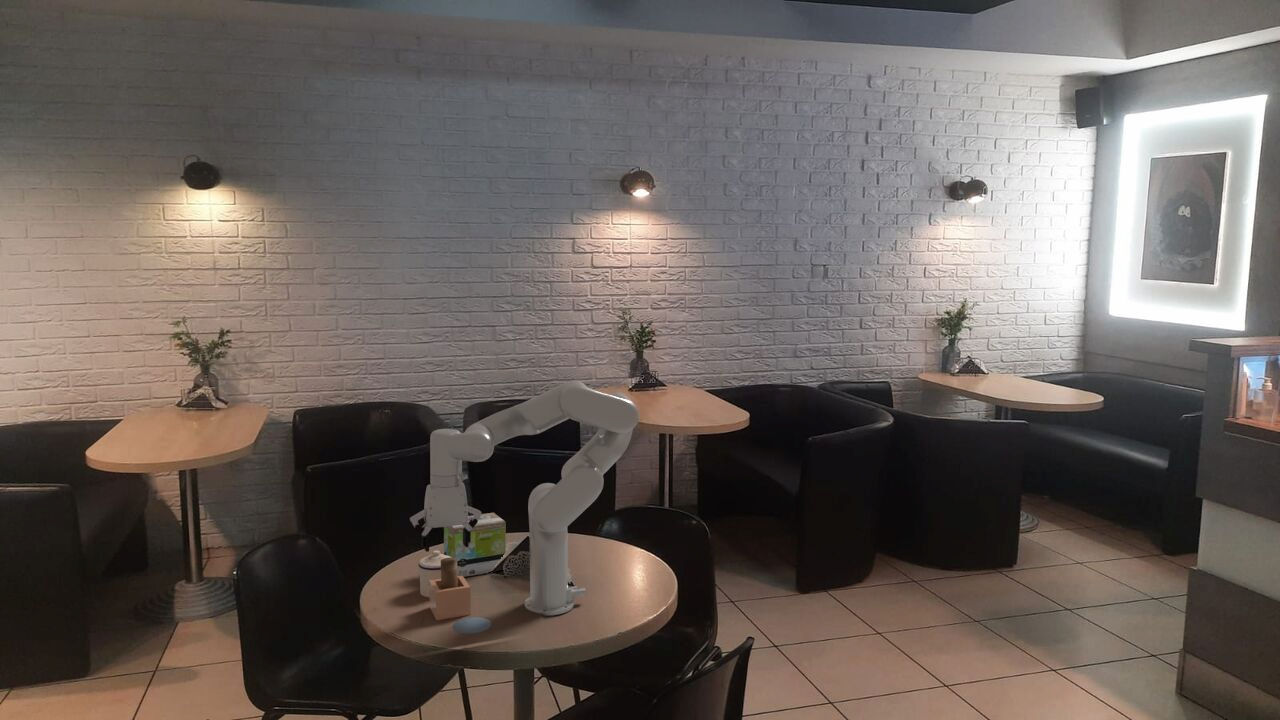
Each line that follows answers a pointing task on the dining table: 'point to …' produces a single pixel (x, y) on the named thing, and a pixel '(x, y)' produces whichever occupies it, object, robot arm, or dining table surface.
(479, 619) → the slate coaster
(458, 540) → the tea box
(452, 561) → the walnut pin
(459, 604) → the terracotta cup
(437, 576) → the teacup with lid
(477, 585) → the dining table surface
